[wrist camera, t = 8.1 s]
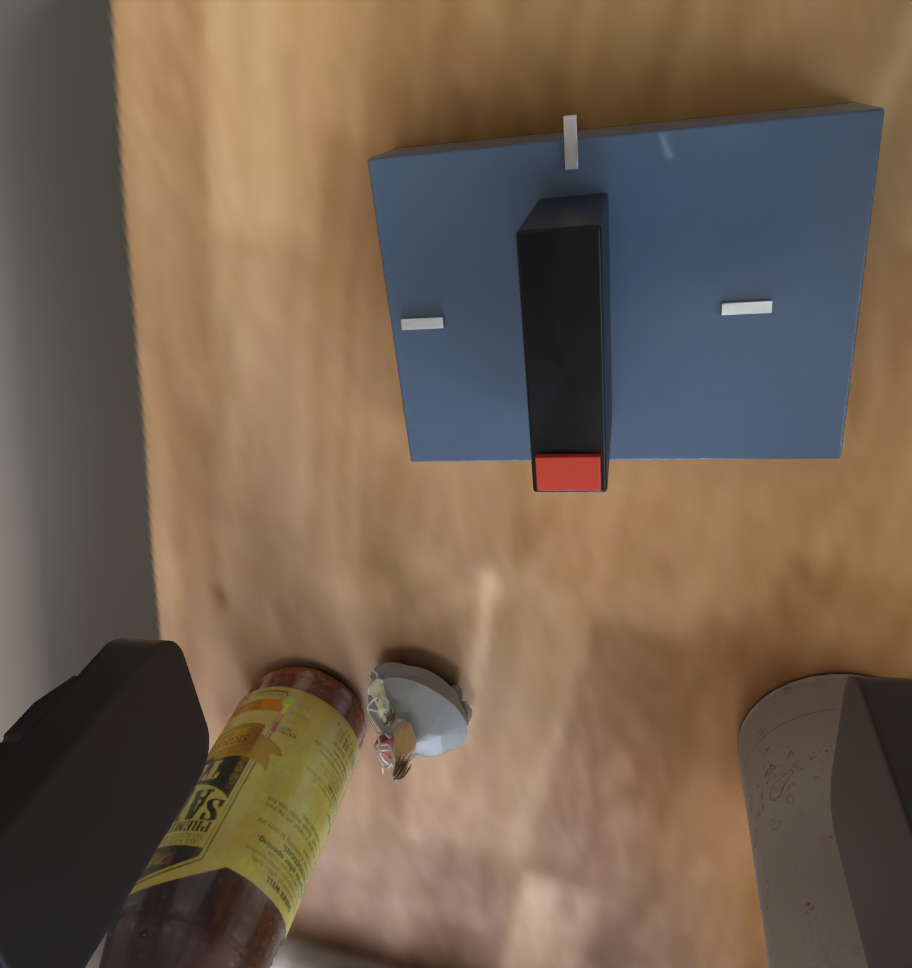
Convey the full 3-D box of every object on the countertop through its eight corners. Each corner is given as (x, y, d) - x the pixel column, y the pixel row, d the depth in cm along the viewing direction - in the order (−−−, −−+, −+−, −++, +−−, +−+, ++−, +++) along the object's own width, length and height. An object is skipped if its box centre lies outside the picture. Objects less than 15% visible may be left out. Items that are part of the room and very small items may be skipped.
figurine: (495, 696, 36) (471, 802, 31) (435, 740, 38) (403, 846, 33) (407, 625, 35) (368, 723, 30) (351, 675, 38) (305, 774, 32)
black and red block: (538, 198, 23) (513, 232, 18) (608, 192, 23) (601, 226, 18) (550, 421, 26) (531, 497, 22) (612, 420, 26) (607, 497, 21)
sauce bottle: (285, 636, 37) (-18, 1133, 20) (395, 707, 38) (194, 1245, 21) (229, 712, 40) (-73, 1195, 23) (331, 776, 41) (112, 1290, 24)
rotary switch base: (860, 78, 23) (890, 81, 20) (820, 436, 28) (839, 478, 25) (391, 128, 26) (361, 137, 23) (432, 442, 31) (411, 479, 28)
